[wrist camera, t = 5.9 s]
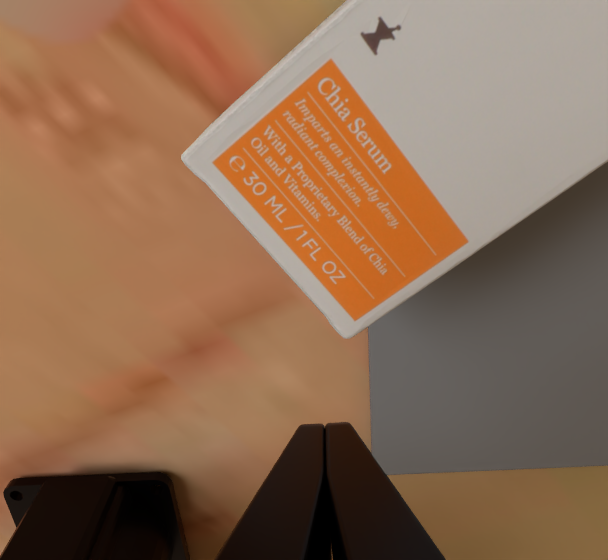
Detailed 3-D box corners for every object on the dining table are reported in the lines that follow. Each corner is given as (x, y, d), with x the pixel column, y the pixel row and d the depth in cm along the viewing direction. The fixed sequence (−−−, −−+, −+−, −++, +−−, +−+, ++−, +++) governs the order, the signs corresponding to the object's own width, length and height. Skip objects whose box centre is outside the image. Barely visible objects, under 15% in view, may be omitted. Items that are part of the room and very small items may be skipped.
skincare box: (170, 161, 12) (729, -356, 8) (205, 128, 15) (596, -234, 12) (351, 353, 13) (866, -8, 10) (342, 280, 17) (712, 2, 14)
